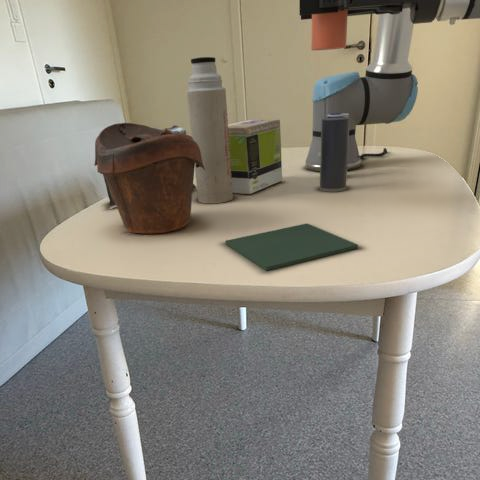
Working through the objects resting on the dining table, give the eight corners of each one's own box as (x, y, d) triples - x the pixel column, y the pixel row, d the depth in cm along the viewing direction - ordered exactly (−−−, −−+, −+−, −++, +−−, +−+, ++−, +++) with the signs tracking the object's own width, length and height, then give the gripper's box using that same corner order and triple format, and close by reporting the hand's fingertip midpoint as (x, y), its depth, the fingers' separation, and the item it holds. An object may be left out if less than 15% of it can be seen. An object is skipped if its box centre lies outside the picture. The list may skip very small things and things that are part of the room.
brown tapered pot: (197, 239, 77) (185, 127, 68) (90, 239, 80) (65, 132, 72) (219, 211, 92) (211, 116, 83) (128, 212, 96) (112, 122, 87)
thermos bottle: (236, 194, 104) (227, 56, 91) (228, 203, 98) (217, 55, 84) (203, 195, 106) (190, 59, 93) (193, 203, 99) (177, 58, 86)
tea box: (250, 179, 119) (247, 118, 112) (283, 182, 113) (282, 118, 106) (215, 191, 108) (210, 126, 101) (250, 195, 103) (246, 126, 96)
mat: (307, 226, 79) (307, 223, 79) (357, 248, 68) (358, 244, 68) (225, 244, 74) (225, 240, 73) (266, 271, 63) (266, 267, 62)
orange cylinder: (332, 49, 85) (334, -16, 80) (353, 46, 80) (356, -23, 75) (304, 50, 82) (305, -16, 78) (324, 48, 78) (326, -24, 73)
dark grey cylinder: (335, 184, 107) (338, 116, 100) (352, 189, 102) (356, 117, 95) (314, 188, 105) (315, 119, 98) (329, 193, 100) (332, 120, 93)
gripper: (449, 15, 69) (298, 28, 72) (423, 27, 85) (301, 37, 89) (457, -47, 65) (298, -29, 69) (429, -22, 82) (302, -9, 85)
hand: (300, 8), depth 79 cm, fingers closed on orange cylinder, 6 cm apart
